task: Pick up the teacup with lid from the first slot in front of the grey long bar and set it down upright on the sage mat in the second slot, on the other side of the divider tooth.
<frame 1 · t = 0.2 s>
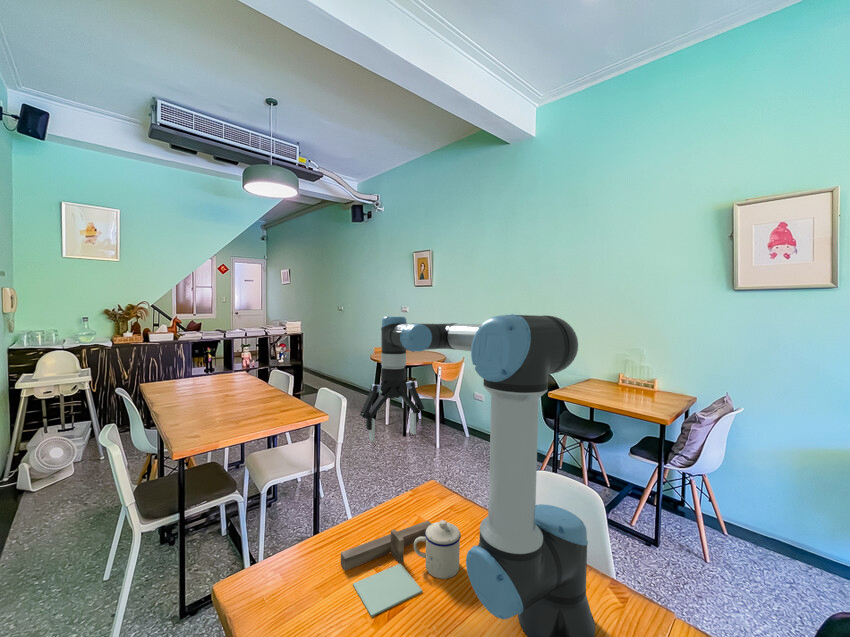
hand: (392, 436, 107), 27 cm above the table, tool pointing down, fingers open, 13 cm apart
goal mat: (387, 588, 83), on the table
teacup with lid: (436, 567, 90), on the table
grey long bar: (407, 569, 89), on the table
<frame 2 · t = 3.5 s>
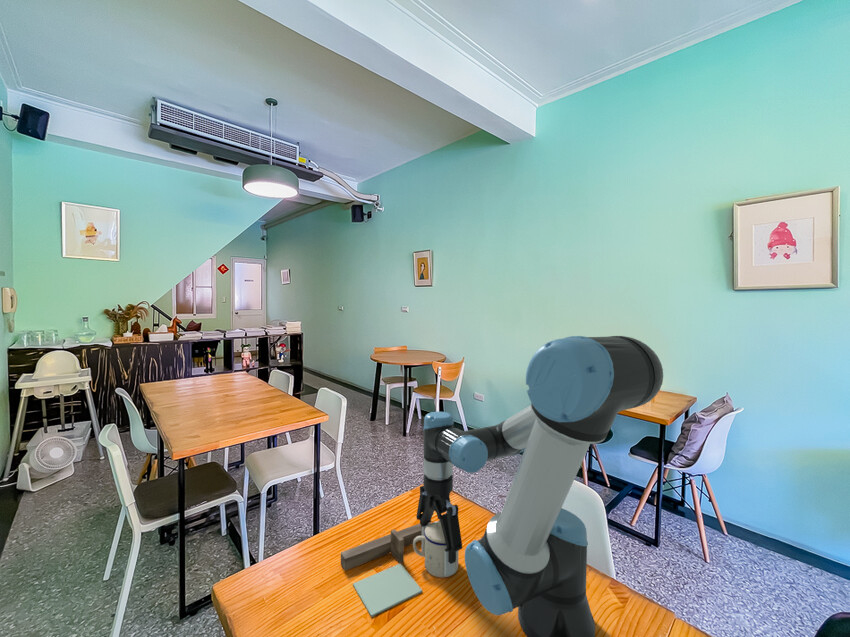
hand: (437, 561, 90), 2 cm above the table, tool pointing down, fingers open, 10 cm apart
teacup with lid: (435, 566, 91), on the table, touching gripper
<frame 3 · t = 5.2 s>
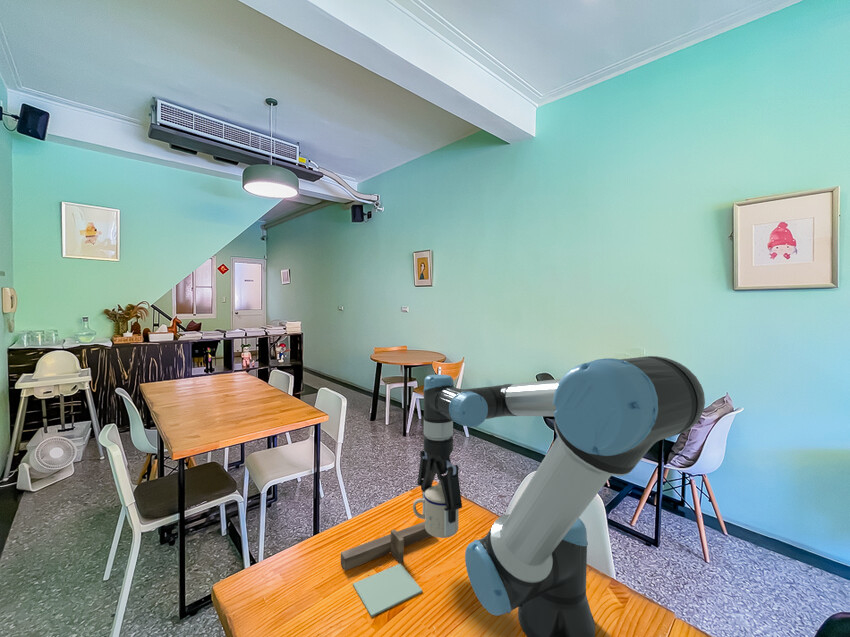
hand: (438, 524, 90), 11 cm above the table, tool pointing down, fingers closed on teacup with lid, 9 cm apart
teacup with lid: (435, 528, 91), point 9 cm above the table, touching gripper
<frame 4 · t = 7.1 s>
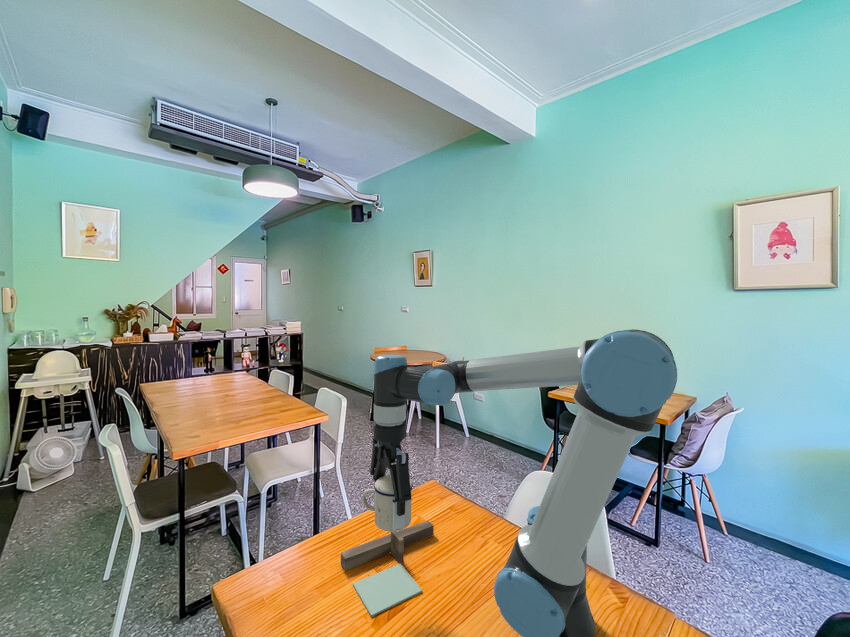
hand: (388, 517, 83), 17 cm above the table, tool pointing down, fingers closed on teacup with lid, 9 cm apart
teacup with lid: (386, 521, 84), point 15 cm above the table, touching gripper
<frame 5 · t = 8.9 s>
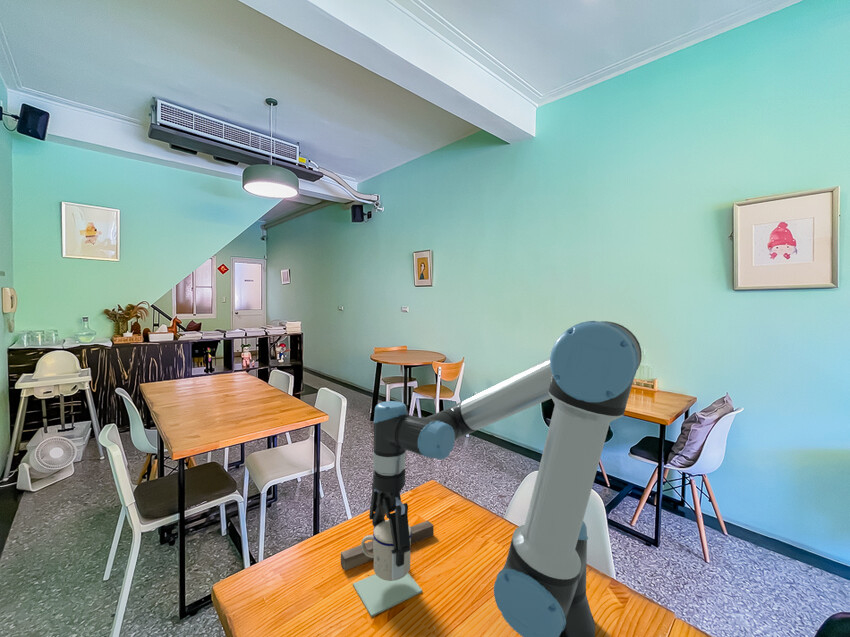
hand: (387, 564, 83), 6 cm above the table, tool pointing down, fingers closed on teacup with lid, 9 cm apart
teacup with lid: (385, 568, 84), point 4 cm above the table, touching gripper
when the fingers open (3 cm above the table, at t = 10.5 s): teacup with lid drops 1 cm, resting on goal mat.
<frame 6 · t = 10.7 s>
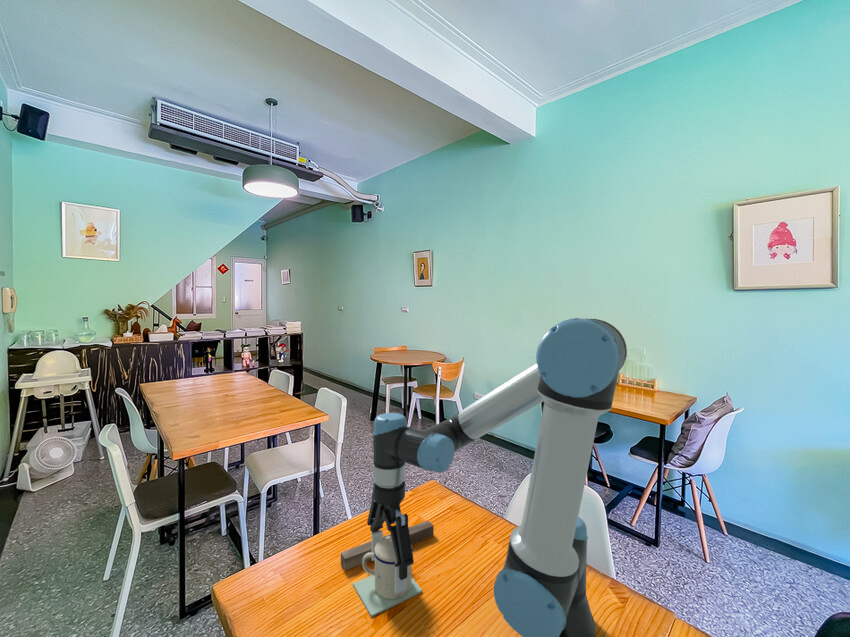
hand: (388, 573, 83), 4 cm above the table, tool pointing down, fingers open, 11 cm apart
teacup with lid: (386, 585, 83), resting on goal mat
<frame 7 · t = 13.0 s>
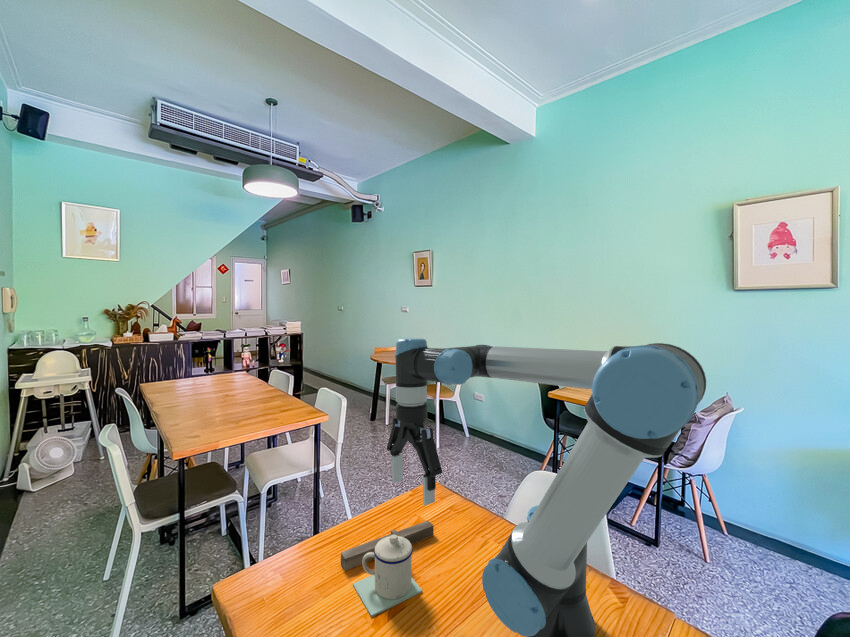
hand: (412, 491, 84), 22 cm above the table, tool pointing down, fingers open, 13 cm apart
nothing on the table moved.
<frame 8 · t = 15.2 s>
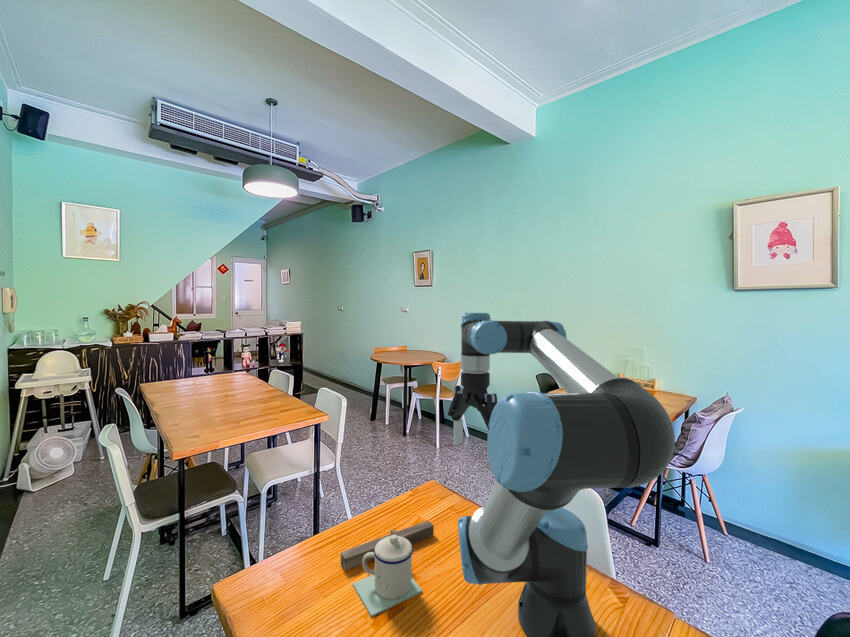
hand: (474, 451, 93), 29 cm above the table, tool pointing down, fingers open, 13 cm apart
nothing on the table moved.
at the end: teacup with lid inside the target area (0.7 cm from its centre), resting on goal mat; teacup with lid tilted 0°; the gripper is holding nothing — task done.
